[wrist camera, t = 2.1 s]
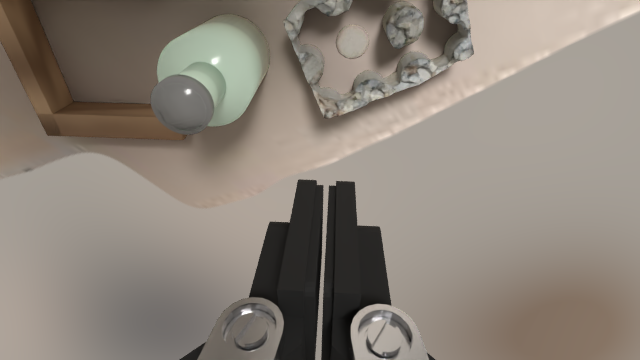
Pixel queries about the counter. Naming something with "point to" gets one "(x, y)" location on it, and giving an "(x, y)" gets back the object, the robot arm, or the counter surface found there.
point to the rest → (51, 90)
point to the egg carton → (353, 41)
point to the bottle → (209, 74)
